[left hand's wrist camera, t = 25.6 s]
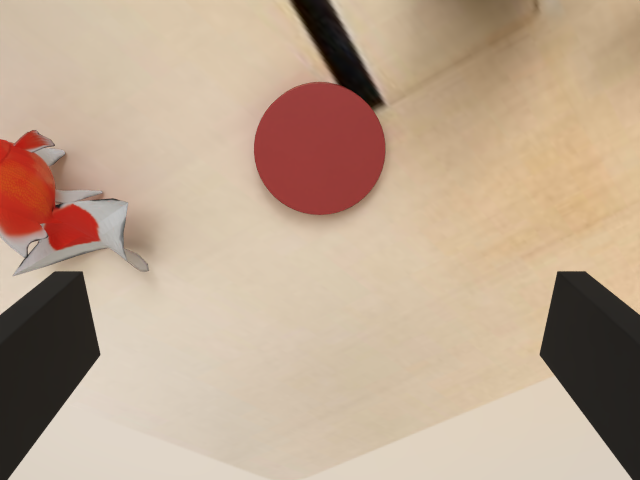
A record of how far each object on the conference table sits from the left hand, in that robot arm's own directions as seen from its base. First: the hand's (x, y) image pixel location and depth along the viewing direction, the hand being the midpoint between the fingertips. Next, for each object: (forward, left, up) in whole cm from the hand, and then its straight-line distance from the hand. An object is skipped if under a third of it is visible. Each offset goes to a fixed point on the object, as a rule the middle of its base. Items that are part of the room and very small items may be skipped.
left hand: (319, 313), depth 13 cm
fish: (-19, -6, -26) cm, 33 cm away
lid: (0, 0, -24) cm, 24 cm away
